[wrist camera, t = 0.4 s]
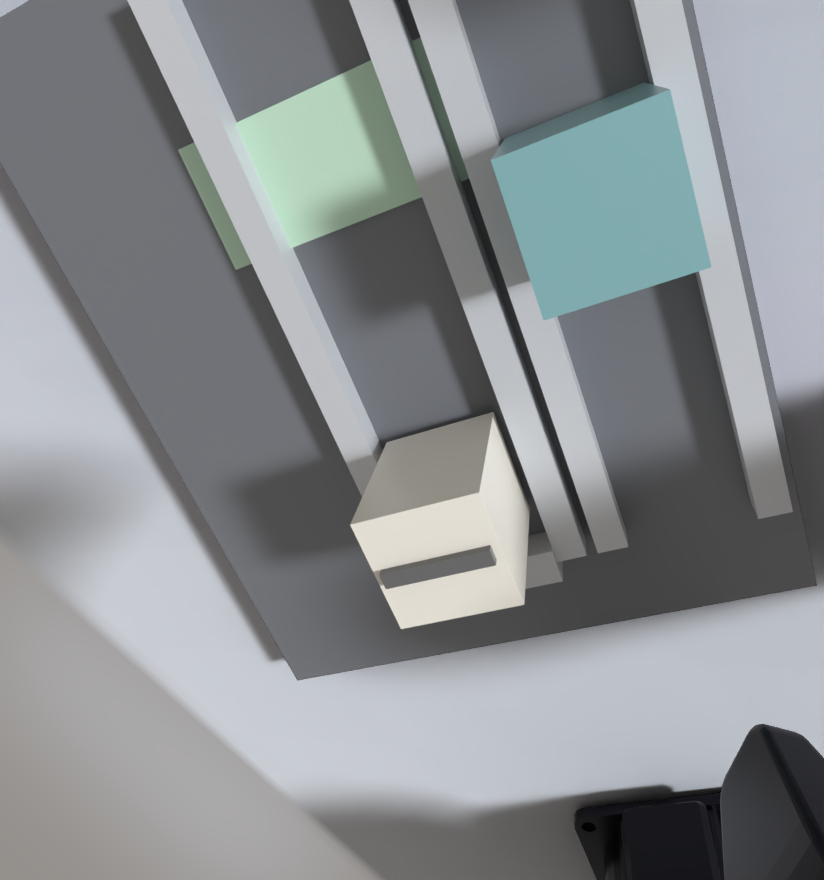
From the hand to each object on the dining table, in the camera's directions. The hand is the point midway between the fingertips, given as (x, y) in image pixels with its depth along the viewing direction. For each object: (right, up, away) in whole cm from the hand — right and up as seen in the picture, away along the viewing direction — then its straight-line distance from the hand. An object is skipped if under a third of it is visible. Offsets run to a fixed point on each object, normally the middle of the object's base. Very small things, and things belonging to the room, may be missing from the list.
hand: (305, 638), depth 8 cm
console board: (+1, +5, +12) cm, 13 cm away
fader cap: (+2, +1, +12) cm, 12 cm away
